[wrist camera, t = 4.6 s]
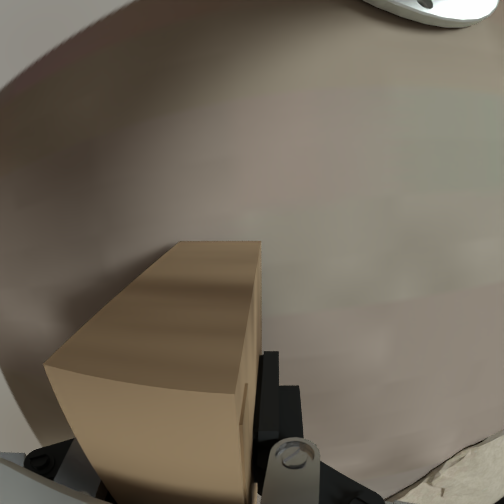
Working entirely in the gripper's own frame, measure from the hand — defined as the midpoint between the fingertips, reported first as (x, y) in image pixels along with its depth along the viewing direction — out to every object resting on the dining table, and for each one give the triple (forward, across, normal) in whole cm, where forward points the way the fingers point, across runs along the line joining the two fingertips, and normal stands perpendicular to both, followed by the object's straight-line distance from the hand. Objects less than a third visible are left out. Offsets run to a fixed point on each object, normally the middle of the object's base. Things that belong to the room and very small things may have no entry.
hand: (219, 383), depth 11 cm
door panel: (+2, 0, 0) cm, 2 cm away
